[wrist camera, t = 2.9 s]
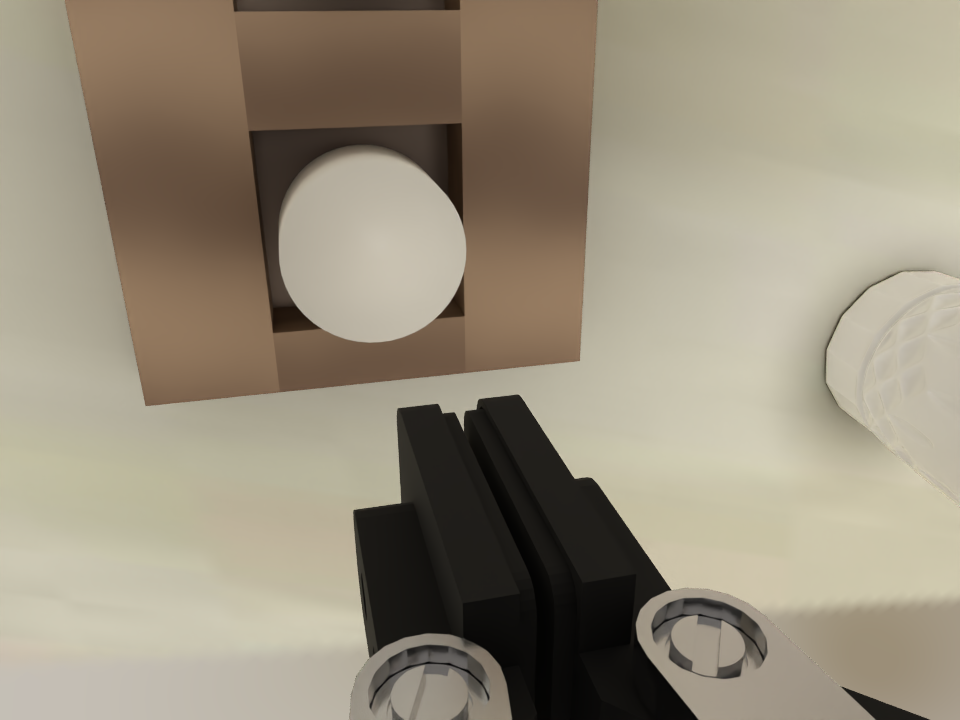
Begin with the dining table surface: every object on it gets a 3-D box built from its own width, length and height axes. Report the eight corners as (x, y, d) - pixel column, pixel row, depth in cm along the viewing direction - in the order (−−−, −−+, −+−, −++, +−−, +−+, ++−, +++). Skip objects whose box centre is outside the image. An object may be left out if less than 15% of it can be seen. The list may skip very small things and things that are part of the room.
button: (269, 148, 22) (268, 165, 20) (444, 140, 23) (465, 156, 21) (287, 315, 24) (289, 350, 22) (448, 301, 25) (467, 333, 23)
